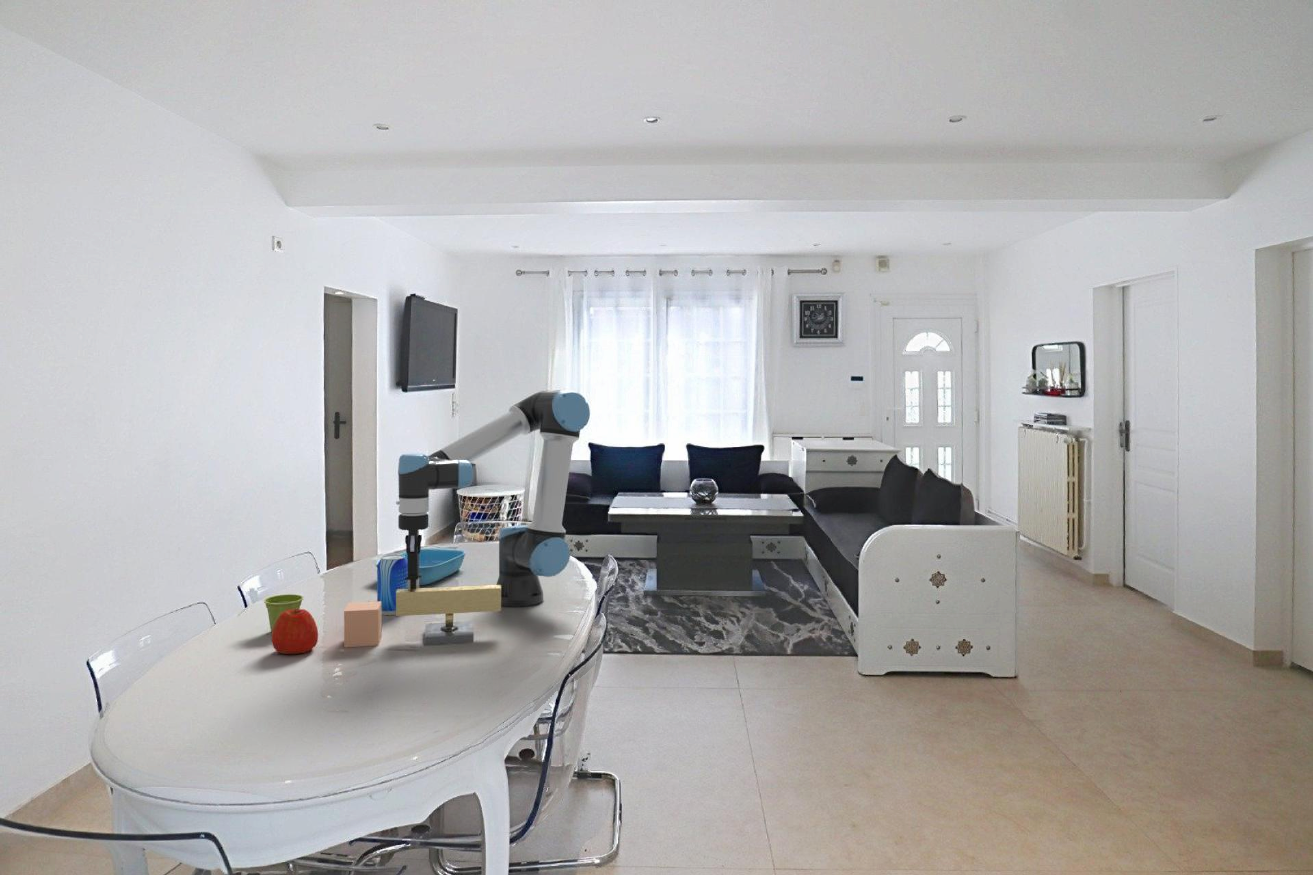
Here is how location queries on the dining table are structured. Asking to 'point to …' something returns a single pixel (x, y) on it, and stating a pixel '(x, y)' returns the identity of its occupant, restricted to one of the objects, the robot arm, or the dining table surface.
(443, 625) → the grey square base plate
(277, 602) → the plant pot
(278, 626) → the apple
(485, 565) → the dining table surface
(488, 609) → the yellow t-shaped bar
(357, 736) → the dining table surface
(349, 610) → the peach tan cube
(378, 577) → the beer can
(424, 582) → the casserole dish
